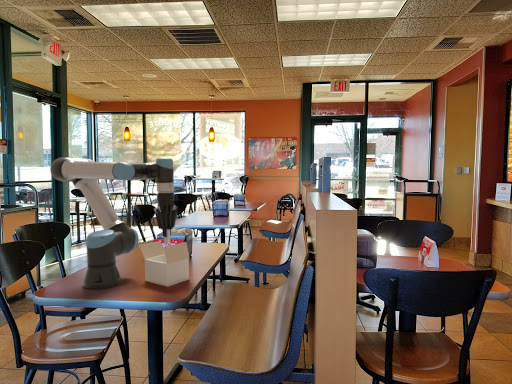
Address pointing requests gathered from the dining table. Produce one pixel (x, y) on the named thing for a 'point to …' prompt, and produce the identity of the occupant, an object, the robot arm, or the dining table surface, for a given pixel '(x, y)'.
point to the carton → (166, 271)
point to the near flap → (176, 252)
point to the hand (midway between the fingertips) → (167, 243)
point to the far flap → (151, 249)
